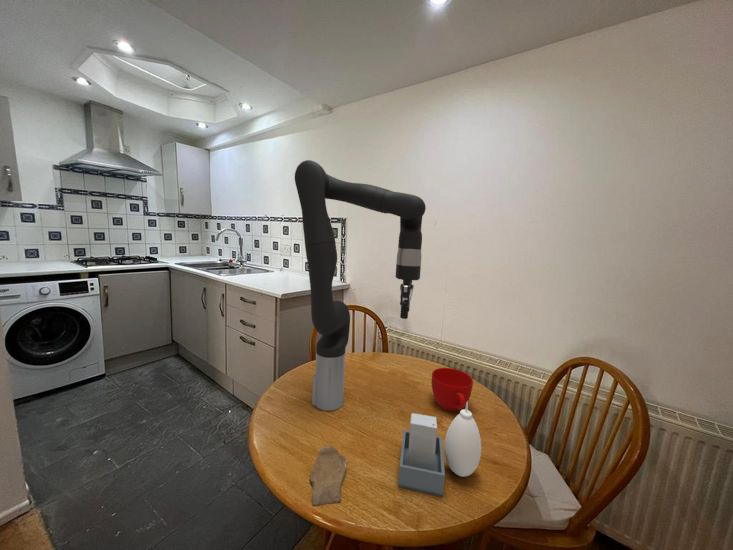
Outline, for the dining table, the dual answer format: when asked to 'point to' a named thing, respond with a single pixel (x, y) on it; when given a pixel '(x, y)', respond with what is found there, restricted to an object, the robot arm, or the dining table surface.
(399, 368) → the dining table surface
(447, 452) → the sauce bottle
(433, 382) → the ceramic cup
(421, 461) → the skincare box
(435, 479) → the bin
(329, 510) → the dining table surface
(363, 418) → the dining table surface
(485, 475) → the dining table surface
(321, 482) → the pottery shard
